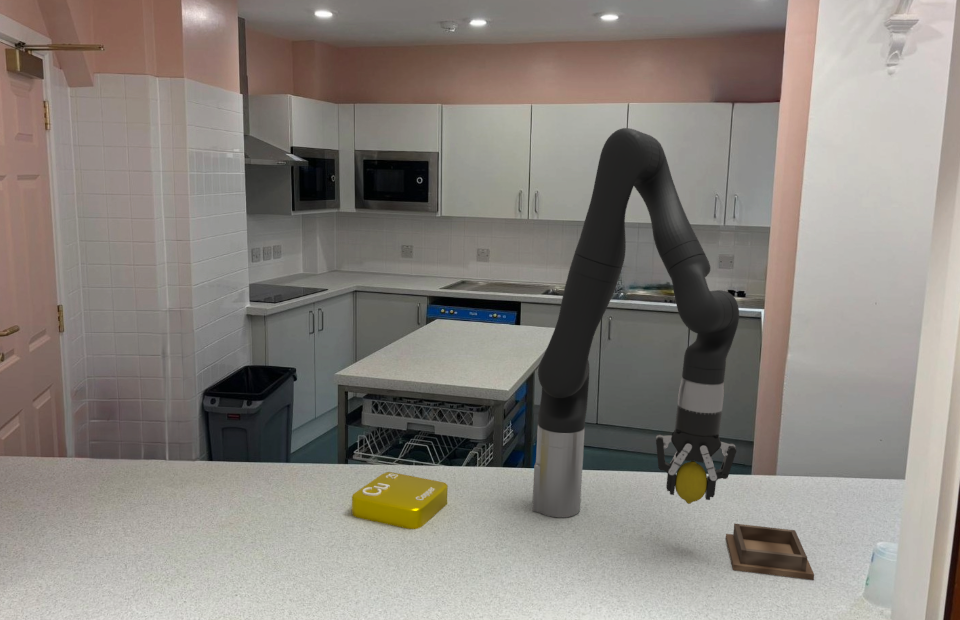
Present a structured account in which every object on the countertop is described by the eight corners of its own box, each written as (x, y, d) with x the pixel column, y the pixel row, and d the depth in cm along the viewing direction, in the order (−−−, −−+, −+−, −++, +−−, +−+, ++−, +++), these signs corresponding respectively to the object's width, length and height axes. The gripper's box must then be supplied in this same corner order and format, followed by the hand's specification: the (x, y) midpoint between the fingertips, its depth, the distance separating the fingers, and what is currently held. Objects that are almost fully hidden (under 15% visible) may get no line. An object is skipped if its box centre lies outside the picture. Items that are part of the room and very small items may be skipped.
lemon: (705, 512, 134) (710, 468, 133) (673, 507, 135) (677, 464, 134) (703, 499, 140) (708, 457, 138) (672, 495, 141) (676, 453, 139)
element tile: (417, 533, 143) (417, 508, 142) (347, 517, 149) (347, 494, 148) (450, 503, 157) (451, 480, 156) (385, 489, 162) (386, 468, 162)
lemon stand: (733, 570, 132) (734, 551, 131) (725, 538, 144) (727, 521, 143) (813, 580, 130) (815, 560, 129) (799, 547, 141) (801, 529, 141)
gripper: (657, 405, 132) (648, 498, 135) (745, 415, 129) (733, 510, 132) (657, 394, 139) (648, 482, 142) (740, 403, 136) (729, 493, 139)
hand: (689, 495), depth 137 cm, fingers closed on lemon, 5 cm apart
